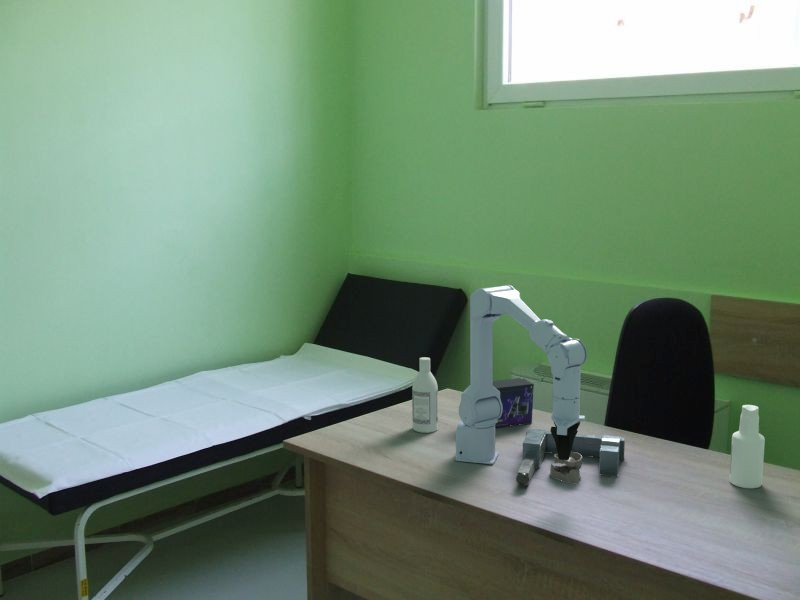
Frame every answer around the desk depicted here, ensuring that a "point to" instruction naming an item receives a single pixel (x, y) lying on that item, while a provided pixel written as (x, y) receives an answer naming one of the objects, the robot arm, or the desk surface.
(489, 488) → the desk surface
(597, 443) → the vise bed
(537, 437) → the sliding jaw
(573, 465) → the dental mold
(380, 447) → the desk surface
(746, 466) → the spray bottle
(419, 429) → the bath foam
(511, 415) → the box
